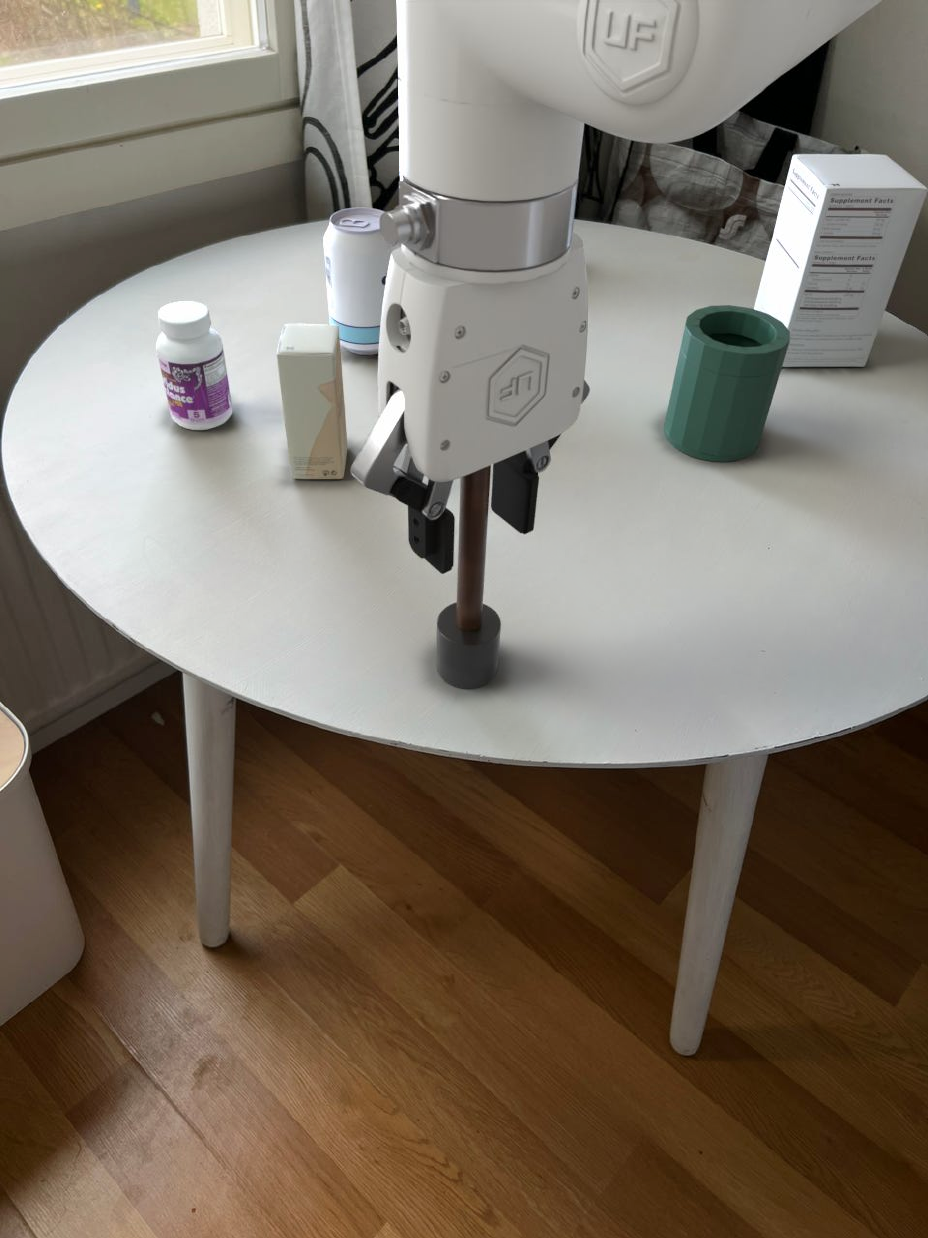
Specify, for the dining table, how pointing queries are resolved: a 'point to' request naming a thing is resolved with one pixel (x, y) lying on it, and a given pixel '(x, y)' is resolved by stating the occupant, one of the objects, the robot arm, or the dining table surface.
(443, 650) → the dowel with disc base
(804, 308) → the supplement box
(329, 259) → the beverage can
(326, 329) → the box
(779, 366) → the jar
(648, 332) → the dining table surface
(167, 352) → the pill bottle
